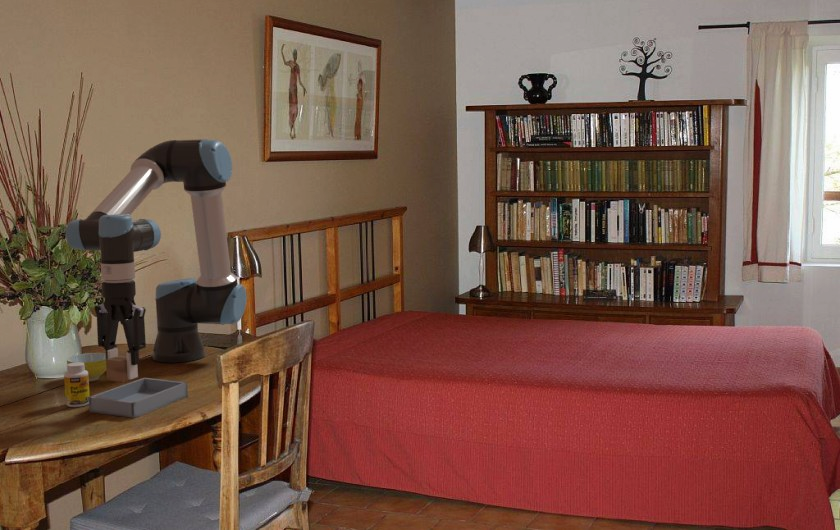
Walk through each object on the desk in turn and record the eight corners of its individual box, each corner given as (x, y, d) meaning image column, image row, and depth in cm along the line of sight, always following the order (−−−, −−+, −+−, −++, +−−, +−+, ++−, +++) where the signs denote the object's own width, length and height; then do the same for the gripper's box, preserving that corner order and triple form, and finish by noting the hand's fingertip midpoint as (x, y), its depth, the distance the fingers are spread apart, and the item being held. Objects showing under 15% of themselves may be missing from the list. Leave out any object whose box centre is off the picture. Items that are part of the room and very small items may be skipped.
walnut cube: (121, 375, 222) (120, 355, 221) (137, 377, 220) (137, 357, 219) (106, 380, 217) (105, 359, 217) (123, 382, 215) (122, 361, 215)
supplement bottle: (68, 409, 221) (66, 367, 219) (63, 404, 225) (60, 363, 224) (92, 405, 224) (90, 364, 223) (87, 400, 229) (84, 360, 227)
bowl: (121, 376, 252) (120, 354, 251) (90, 386, 241) (89, 363, 241) (89, 372, 256) (88, 351, 256) (58, 382, 246) (57, 360, 245)
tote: (144, 391, 236) (144, 377, 236) (187, 396, 231) (187, 382, 230) (89, 411, 218) (88, 397, 218) (134, 418, 213) (133, 403, 212)
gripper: (77, 280, 216) (82, 377, 219) (137, 284, 209) (142, 384, 212) (100, 276, 223) (105, 370, 226) (159, 280, 216) (164, 376, 218)
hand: (123, 376), depth 219 cm, fingers closed on walnut cube, 5 cm apart
